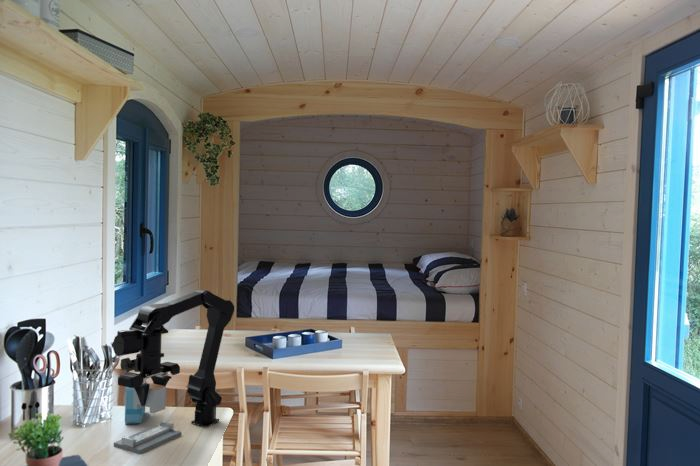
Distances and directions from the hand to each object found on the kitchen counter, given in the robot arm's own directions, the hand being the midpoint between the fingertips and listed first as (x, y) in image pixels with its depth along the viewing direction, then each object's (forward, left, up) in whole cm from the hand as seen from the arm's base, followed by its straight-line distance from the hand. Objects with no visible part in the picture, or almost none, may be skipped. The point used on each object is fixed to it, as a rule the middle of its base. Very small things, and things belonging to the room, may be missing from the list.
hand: (149, 403), depth 168 cm
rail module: (0, 0, -2) cm, 2 cm away
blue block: (-11, -17, -11) cm, 23 cm away
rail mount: (0, 0, -11) cm, 11 cm away
